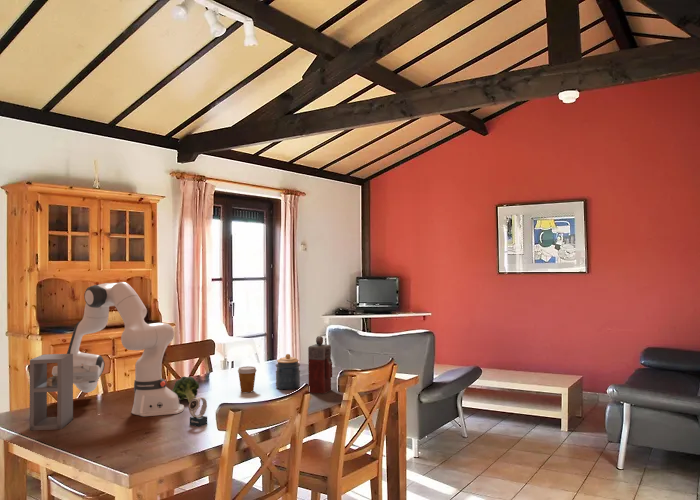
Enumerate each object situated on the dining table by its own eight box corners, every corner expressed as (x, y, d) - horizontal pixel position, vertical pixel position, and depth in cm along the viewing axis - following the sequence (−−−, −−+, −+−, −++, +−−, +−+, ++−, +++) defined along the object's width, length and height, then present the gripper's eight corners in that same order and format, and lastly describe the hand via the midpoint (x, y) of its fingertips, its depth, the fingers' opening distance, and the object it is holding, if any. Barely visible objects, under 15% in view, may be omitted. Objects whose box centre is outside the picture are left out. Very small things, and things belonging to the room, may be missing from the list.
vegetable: (174, 401, 268) (164, 382, 279) (188, 416, 276) (178, 396, 287) (196, 385, 271) (186, 366, 282) (209, 399, 279) (199, 381, 290)
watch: (186, 426, 236) (186, 399, 236) (200, 421, 243) (200, 394, 243) (196, 428, 233) (196, 400, 233) (210, 423, 240) (210, 396, 240)
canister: (299, 390, 300) (298, 355, 300) (273, 390, 300) (273, 356, 300) (301, 384, 313) (301, 351, 313) (277, 384, 313) (277, 352, 313)
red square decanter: (328, 394, 291) (328, 338, 291) (308, 392, 295) (308, 337, 295) (335, 390, 299) (335, 335, 299) (315, 388, 303) (315, 334, 303)
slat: (70, 375, 258) (70, 368, 258) (51, 386, 236) (51, 378, 236) (65, 375, 258) (65, 368, 258) (46, 386, 236) (46, 379, 236)
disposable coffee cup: (258, 389, 302) (258, 366, 302) (253, 393, 293) (253, 369, 293) (240, 389, 303) (240, 366, 303) (235, 393, 294) (235, 369, 294)
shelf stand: (76, 416, 251) (76, 352, 252) (61, 428, 233) (61, 359, 234) (47, 418, 250) (47, 352, 250) (29, 430, 232) (29, 359, 232)
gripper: (58, 369, 275) (48, 359, 263) (103, 368, 278) (96, 358, 266) (55, 382, 272) (46, 373, 260) (101, 381, 275) (93, 371, 263)
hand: (71, 365), depth 263 cm, fingers open, 8 cm apart
